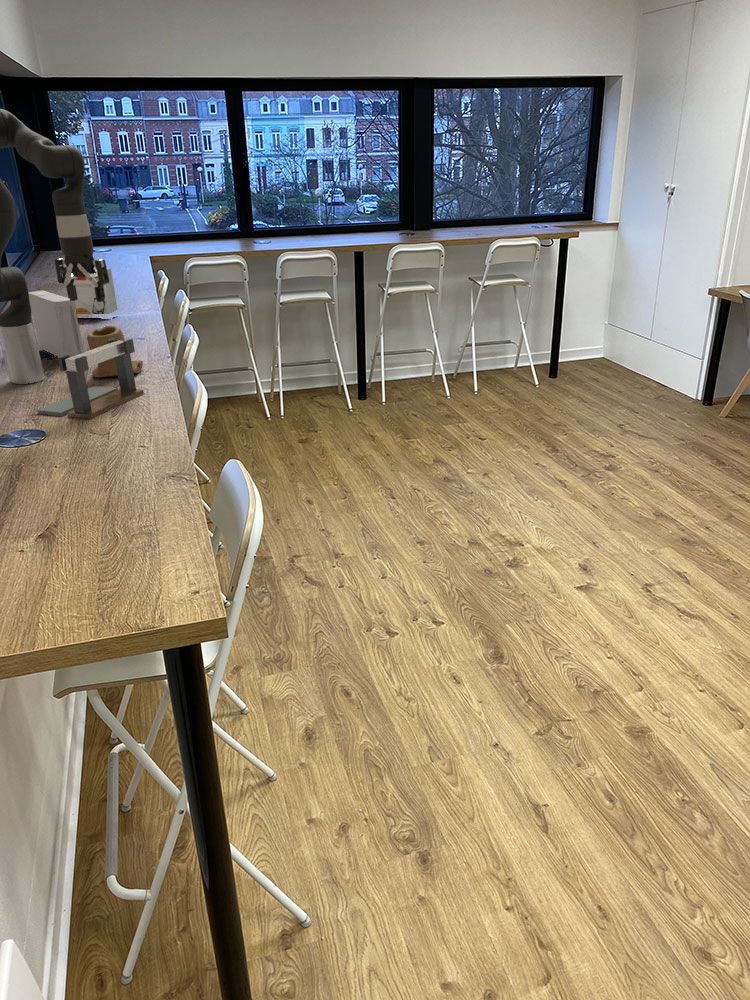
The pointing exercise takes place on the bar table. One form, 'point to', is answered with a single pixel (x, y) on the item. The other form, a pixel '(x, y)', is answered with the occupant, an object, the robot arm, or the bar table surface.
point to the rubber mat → (67, 404)
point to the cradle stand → (105, 403)
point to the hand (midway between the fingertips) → (87, 300)
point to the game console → (56, 323)
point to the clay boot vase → (100, 339)
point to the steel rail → (97, 355)
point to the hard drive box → (94, 297)
